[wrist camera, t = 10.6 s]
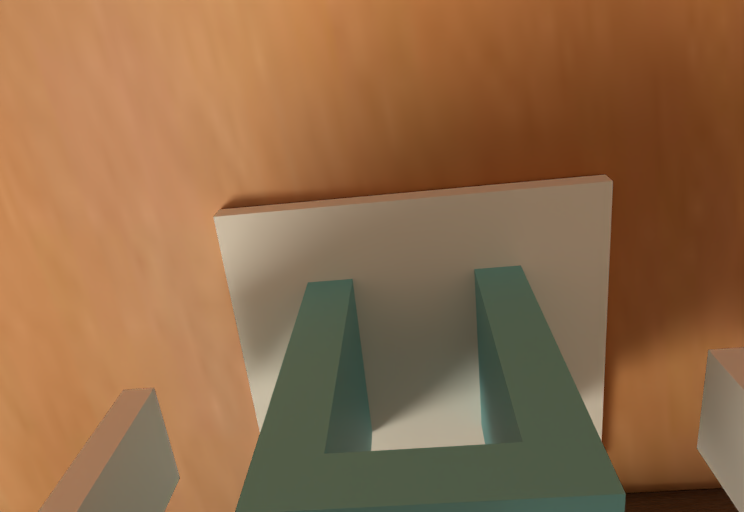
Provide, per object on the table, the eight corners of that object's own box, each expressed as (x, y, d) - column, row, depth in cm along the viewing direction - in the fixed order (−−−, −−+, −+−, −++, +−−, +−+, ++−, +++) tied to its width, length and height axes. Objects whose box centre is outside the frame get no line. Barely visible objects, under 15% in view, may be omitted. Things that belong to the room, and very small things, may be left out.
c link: (307, 282, 16) (234, 514, 9) (520, 265, 16) (625, 494, 9) (332, 434, 18) (287, 728, 11) (523, 422, 18) (610, 720, 11)
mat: (275, 475, 20) (272, 489, 19) (219, 209, 16) (213, 216, 16) (594, 457, 19) (600, 471, 18) (605, 174, 16) (612, 180, 15)
